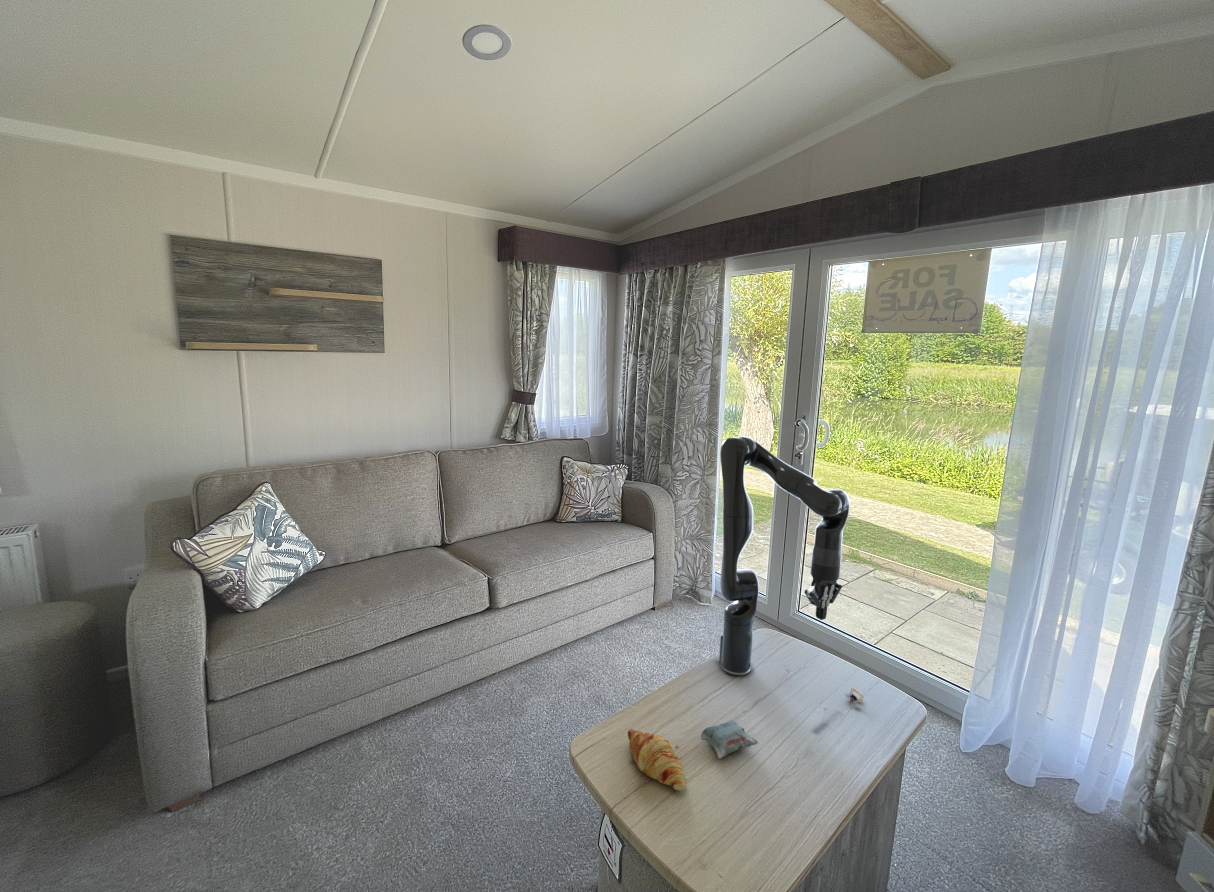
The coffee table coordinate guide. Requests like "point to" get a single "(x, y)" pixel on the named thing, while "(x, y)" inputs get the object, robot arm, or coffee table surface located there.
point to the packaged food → (727, 738)
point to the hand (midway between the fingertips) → (820, 618)
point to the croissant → (656, 759)
